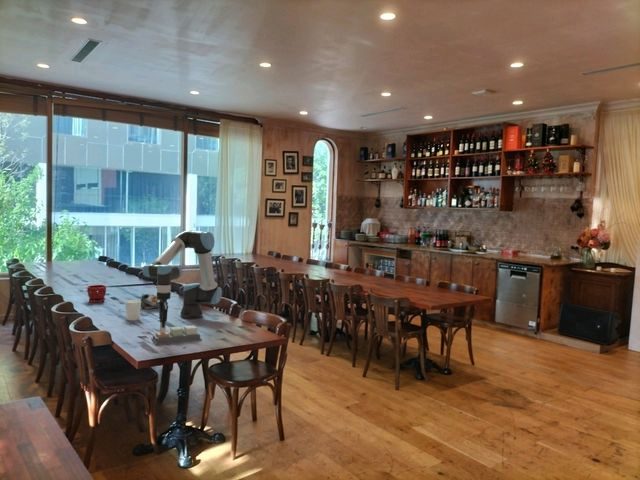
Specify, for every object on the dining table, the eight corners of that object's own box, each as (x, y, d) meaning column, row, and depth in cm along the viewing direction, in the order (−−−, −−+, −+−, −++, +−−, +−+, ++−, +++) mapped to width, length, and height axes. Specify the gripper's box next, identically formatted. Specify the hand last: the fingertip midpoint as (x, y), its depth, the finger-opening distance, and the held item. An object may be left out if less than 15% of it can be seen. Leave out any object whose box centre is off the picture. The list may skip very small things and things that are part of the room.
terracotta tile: (156, 338, 282) (156, 332, 281) (166, 337, 285) (166, 331, 285) (158, 341, 277) (158, 334, 276) (169, 340, 280) (169, 333, 279)
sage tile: (170, 334, 286) (170, 327, 285) (180, 333, 289) (180, 326, 288) (172, 336, 281) (172, 329, 280) (183, 335, 284) (183, 328, 283)
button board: (151, 339, 283) (151, 333, 283) (195, 335, 297) (195, 329, 296) (155, 344, 273) (155, 339, 273) (201, 340, 286) (201, 334, 286)
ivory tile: (183, 332, 290) (184, 326, 289) (193, 331, 293) (194, 325, 292) (186, 335, 285) (186, 328, 284) (196, 334, 288) (197, 327, 287)
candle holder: (122, 318, 328) (123, 300, 327) (136, 316, 335) (137, 299, 334) (129, 321, 321) (129, 303, 321) (143, 319, 329) (144, 301, 328)
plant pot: (99, 299, 386) (100, 283, 385) (109, 301, 378) (109, 286, 377) (83, 301, 375) (83, 285, 374) (92, 303, 368) (93, 288, 367)
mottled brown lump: (162, 306, 371) (165, 291, 364) (155, 315, 360) (158, 300, 354) (143, 299, 370) (145, 285, 364) (135, 308, 360) (138, 294, 353)
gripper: (154, 290, 282) (153, 330, 284) (159, 294, 271) (158, 336, 273) (167, 289, 286) (166, 329, 288) (173, 293, 275) (172, 334, 277)
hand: (162, 332), depth 280 cm, fingers closed
